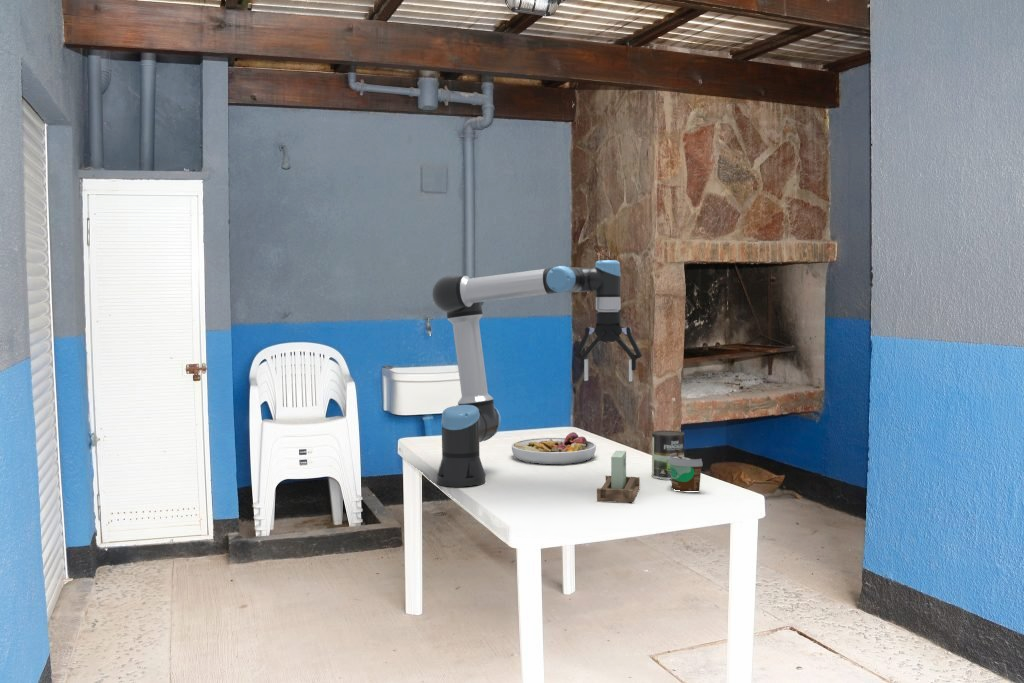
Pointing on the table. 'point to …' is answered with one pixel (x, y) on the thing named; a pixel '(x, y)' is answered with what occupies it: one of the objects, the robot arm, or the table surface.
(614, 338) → the robot arm
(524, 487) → the table surface
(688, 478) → the food container
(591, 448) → the bowl
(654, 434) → the coffee can
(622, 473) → the door panel
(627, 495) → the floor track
